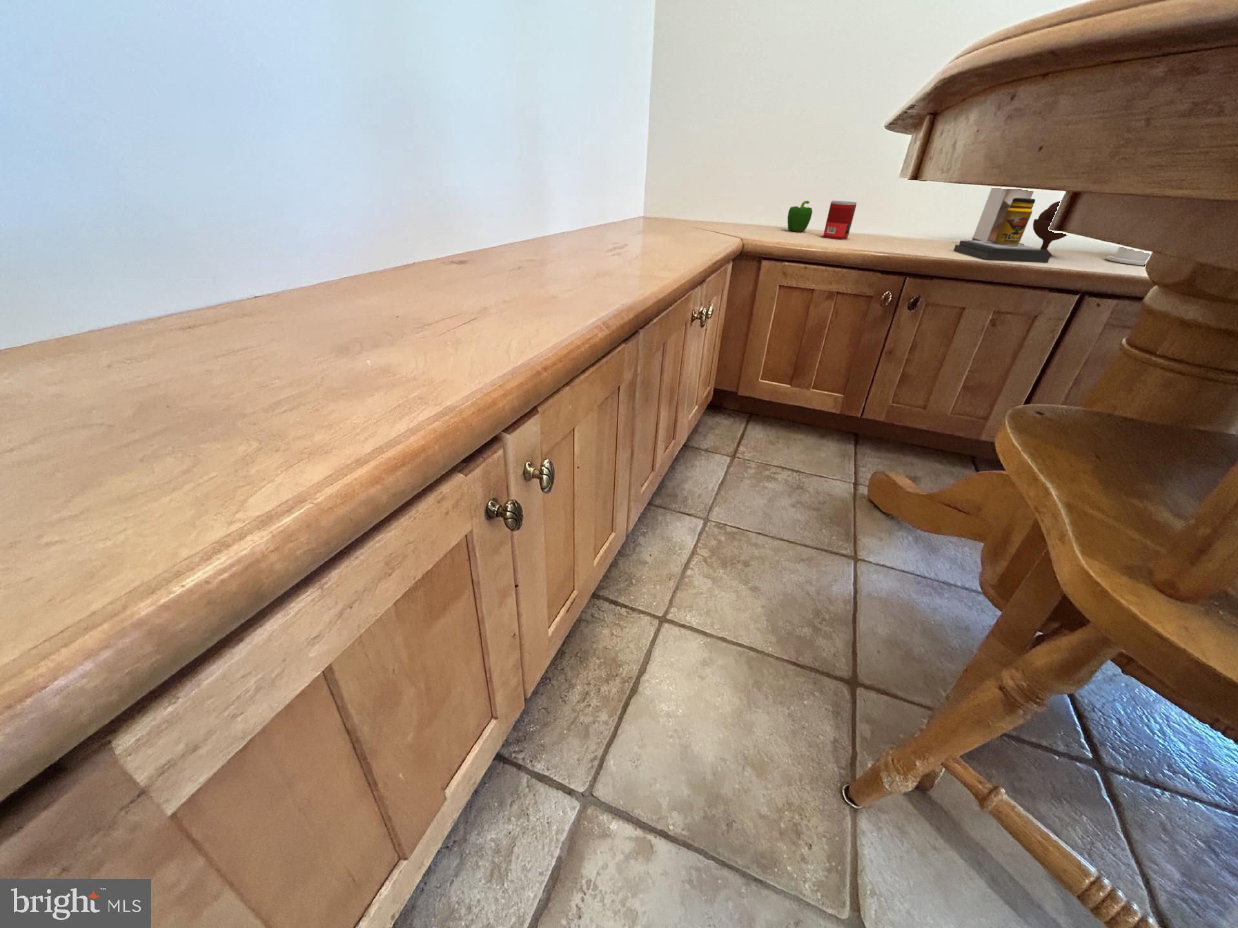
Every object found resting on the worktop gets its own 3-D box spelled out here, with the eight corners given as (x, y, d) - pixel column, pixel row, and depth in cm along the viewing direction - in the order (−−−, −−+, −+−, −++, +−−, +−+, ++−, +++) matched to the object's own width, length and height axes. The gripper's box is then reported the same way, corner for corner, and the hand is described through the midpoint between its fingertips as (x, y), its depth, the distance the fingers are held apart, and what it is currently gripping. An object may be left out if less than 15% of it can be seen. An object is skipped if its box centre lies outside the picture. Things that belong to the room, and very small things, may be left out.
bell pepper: (787, 232, 178) (794, 201, 173) (782, 229, 185) (788, 199, 180) (811, 233, 178) (818, 202, 173) (804, 230, 185) (811, 200, 180)
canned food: (849, 240, 166) (859, 203, 160) (825, 238, 167) (833, 201, 161) (844, 237, 173) (853, 201, 167) (820, 235, 174) (829, 200, 168)
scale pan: (1008, 247, 152) (1010, 242, 152) (1038, 254, 141) (1041, 249, 141) (966, 245, 152) (968, 240, 152) (993, 252, 141) (995, 247, 140)
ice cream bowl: (1070, 259, 149) (1097, 203, 141) (1029, 256, 151) (1054, 200, 143) (1051, 253, 158) (1076, 200, 150) (1013, 251, 159) (1035, 198, 152)
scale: (1010, 253, 155) (1014, 242, 153) (1047, 262, 141) (1053, 251, 140) (953, 250, 154) (957, 240, 153) (985, 260, 141) (990, 248, 139)
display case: (982, 248, 162) (1033, 117, 143) (970, 244, 170) (1017, 120, 152) (1021, 251, 160) (1078, 119, 141) (1007, 246, 169) (1059, 121, 150)
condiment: (1010, 246, 142) (1029, 199, 136) (981, 242, 149) (998, 196, 142) (1025, 246, 145) (1045, 199, 139) (996, 241, 151) (1014, 197, 145)
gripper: (1181, 60, 117) (1138, 146, 126) (1118, 70, 132) (1084, 147, 141) (1150, 58, 117) (1109, 144, 126) (1091, 69, 132) (1058, 145, 141)
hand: (1096, 146), depth 133 cm, fingers open, 9 cm apart
